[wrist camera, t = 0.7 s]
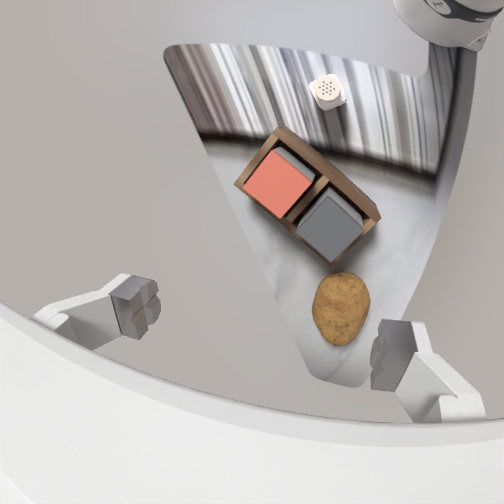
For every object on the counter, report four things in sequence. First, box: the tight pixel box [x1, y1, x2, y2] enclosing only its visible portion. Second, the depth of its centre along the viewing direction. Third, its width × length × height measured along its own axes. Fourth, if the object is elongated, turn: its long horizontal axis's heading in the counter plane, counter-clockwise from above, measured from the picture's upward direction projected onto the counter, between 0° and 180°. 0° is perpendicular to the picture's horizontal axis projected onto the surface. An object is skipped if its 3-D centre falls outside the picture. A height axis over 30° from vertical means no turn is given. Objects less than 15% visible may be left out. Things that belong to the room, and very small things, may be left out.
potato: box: [312, 272, 370, 346], centre depth 47 cm, size 10×14×8 cm
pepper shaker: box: [309, 74, 347, 111], centre depth 34 cm, size 4×4×10 cm
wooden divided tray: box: [233, 127, 381, 267], centre depth 41 cm, size 10×18×7 cm, turn 54°
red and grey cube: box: [243, 146, 315, 219], centre depth 37 cm, size 6×6×6 cm
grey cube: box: [296, 187, 364, 262], centre depth 38 cm, size 6×6×6 cm
